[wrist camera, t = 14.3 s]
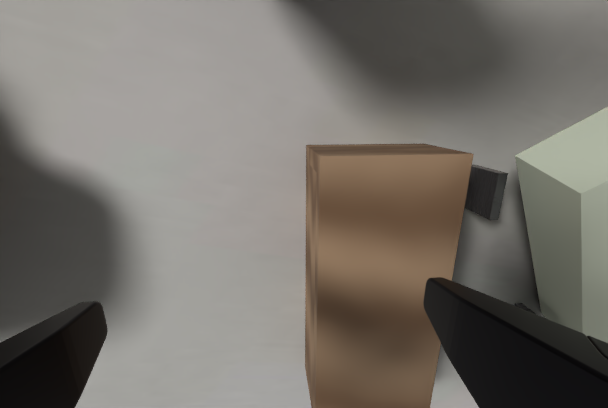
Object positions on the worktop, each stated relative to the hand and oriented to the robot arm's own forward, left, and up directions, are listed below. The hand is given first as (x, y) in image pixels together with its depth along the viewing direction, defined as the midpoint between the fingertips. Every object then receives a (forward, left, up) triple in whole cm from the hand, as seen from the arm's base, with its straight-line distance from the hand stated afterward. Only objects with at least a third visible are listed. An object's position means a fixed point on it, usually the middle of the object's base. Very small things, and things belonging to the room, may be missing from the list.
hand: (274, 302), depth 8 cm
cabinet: (+6, +7, -12) cm, 15 cm away
